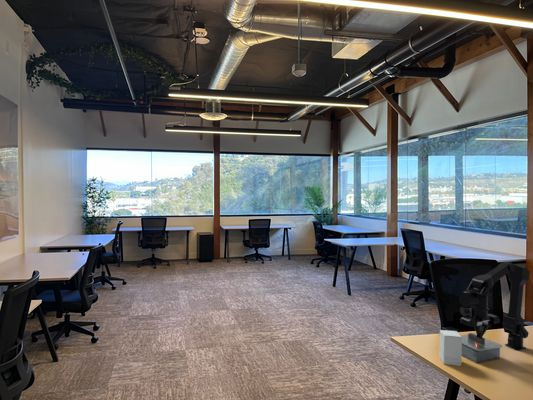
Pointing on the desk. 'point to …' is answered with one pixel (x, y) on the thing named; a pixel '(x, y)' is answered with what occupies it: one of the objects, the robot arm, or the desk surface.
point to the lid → (479, 342)
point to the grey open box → (480, 354)
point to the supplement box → (450, 347)
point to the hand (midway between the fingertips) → (479, 338)
